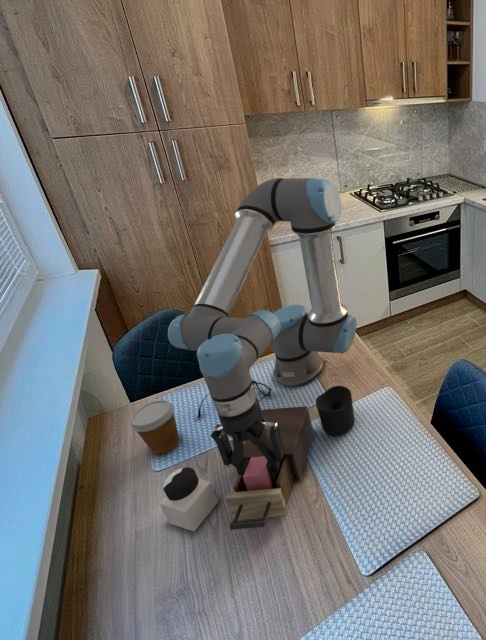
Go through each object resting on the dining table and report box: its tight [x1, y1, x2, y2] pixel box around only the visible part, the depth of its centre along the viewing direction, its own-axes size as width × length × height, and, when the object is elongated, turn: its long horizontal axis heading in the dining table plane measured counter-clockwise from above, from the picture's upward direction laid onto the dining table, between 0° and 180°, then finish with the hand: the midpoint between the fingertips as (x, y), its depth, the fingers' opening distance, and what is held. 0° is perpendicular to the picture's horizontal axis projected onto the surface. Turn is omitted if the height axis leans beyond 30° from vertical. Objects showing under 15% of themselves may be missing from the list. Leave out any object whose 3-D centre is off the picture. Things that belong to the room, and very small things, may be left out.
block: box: [243, 456, 273, 491], centre depth 91 cm, size 5×5×5 cm
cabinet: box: [242, 405, 314, 482], centre depth 103 cm, size 15×13×10 cm
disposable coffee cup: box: [129, 399, 180, 455], centre depth 107 cm, size 10×10×12 cm
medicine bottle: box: [159, 466, 219, 532], centre depth 90 cm, size 7×7×12 cm
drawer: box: [224, 456, 295, 531], centre depth 92 cm, size 18×11×8 cm, turn 4°
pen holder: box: [315, 385, 355, 438], centre depth 112 cm, size 9×9×10 cm
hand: (263, 480), depth 92 cm, fingers closed on block, 5 cm apart
